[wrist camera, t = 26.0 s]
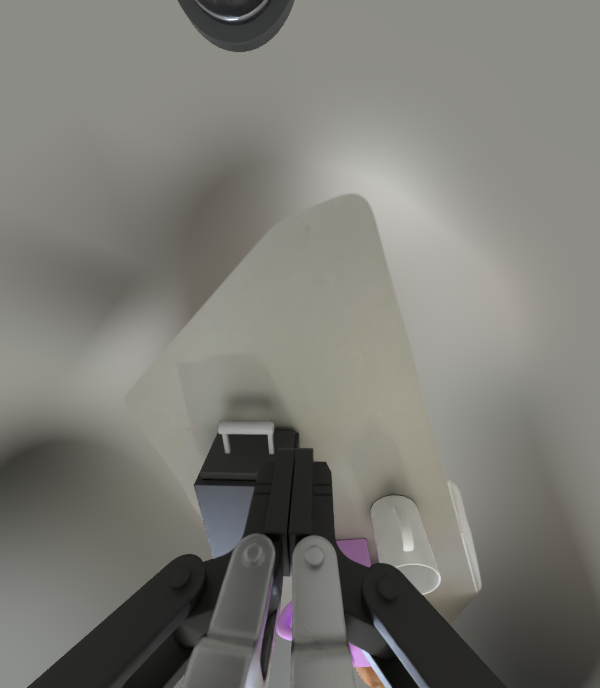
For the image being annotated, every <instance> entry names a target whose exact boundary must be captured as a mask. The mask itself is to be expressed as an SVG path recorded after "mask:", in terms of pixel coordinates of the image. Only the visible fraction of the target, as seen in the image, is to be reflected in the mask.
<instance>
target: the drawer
mask: <svg viewBox="0 0 600 688" xmlns="http://www.w3.org/2000/svg"><path fill="white" fill-rule="evenodd" d="M294 438H295V436H294V431H274V422H256V421H220V422H219V425H218V434H217V436H216V438H215V440H214V442H213V445H212V447H211V449H210V451H209V453H208V455H207V458H206V460H205V462H204V464H203V466H202V468H201V471H200V475H201V479H211V480H223V481H235V480H256V479H257V474H258V471H259V469H260V468H261V466H262V465H263V464H264V462H265V461H276V457H277V451H278V448H293V447H294Z"/></svg>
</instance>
